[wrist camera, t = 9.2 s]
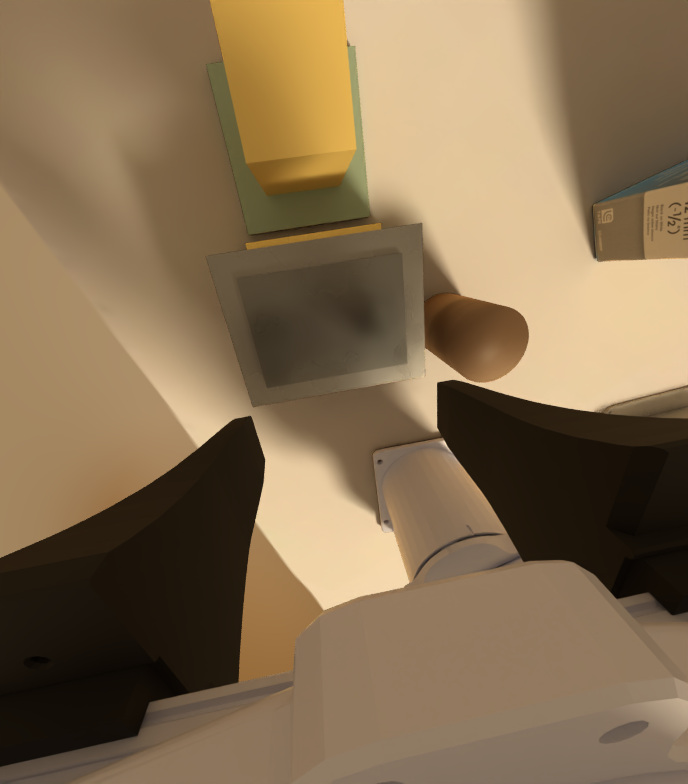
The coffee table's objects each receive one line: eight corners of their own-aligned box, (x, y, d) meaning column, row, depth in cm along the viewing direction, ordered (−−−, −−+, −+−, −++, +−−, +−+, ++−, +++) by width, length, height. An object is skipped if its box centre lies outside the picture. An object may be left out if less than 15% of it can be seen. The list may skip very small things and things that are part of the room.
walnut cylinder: (468, 345, 21) (523, 375, 16) (415, 355, 21) (452, 388, 16) (471, 288, 20) (533, 299, 14) (413, 298, 19) (454, 313, 14)
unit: (394, 345, 21) (427, 378, 15) (267, 367, 20) (251, 409, 14) (386, 228, 17) (424, 213, 12) (236, 251, 17) (200, 247, 11)
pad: (368, 217, 17) (370, 216, 17) (249, 235, 17) (248, 234, 16) (353, 51, 14) (355, 45, 14) (208, 69, 14) (205, 64, 13)
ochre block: (339, 186, 16) (356, 149, 11) (267, 195, 16) (246, 163, 10) (328, 88, 14) (342, -16, 9) (246, 97, 14) (209, -3, 9)
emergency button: (613, 559, 28) (650, 432, 22) (575, 522, 32) (597, 405, 26) (705, 535, 28) (769, 401, 22) (656, 500, 32) (698, 379, 26)
